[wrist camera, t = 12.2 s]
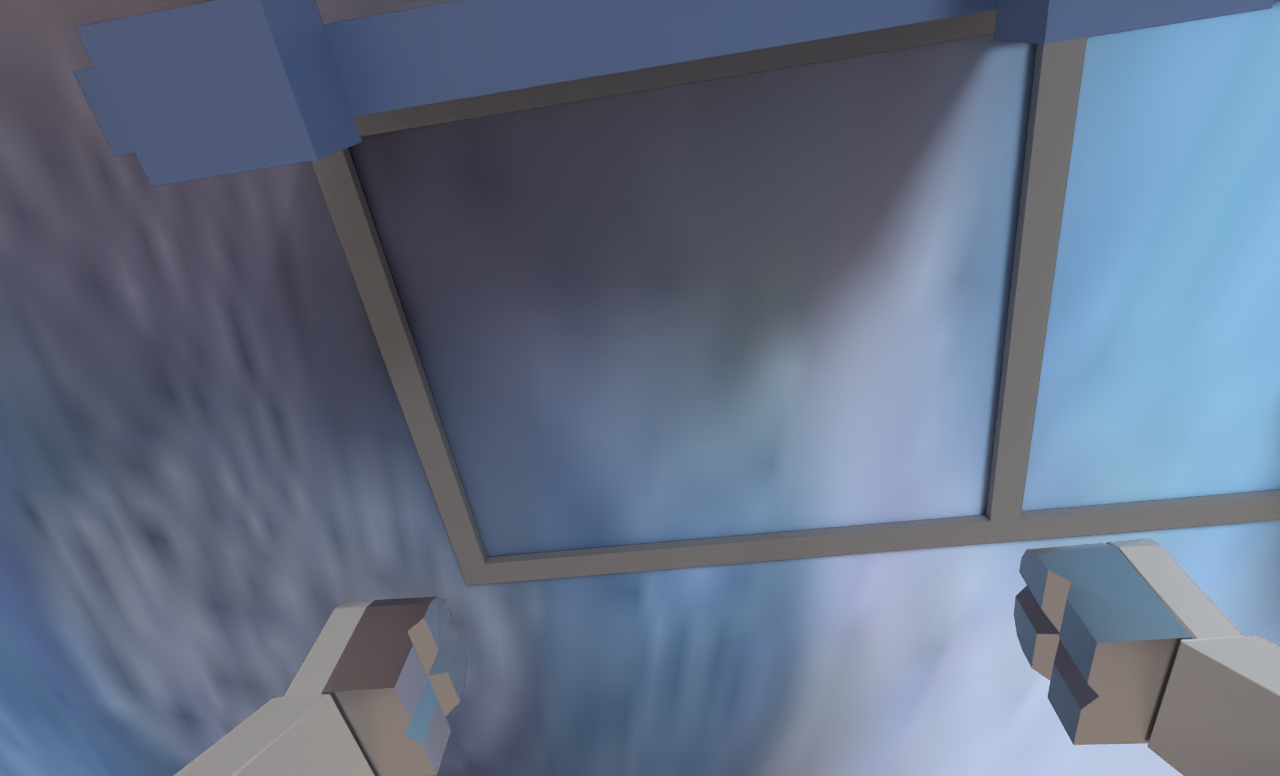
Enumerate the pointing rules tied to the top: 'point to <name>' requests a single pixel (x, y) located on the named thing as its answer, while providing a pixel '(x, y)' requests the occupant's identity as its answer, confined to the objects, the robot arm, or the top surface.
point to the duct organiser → (587, 69)
